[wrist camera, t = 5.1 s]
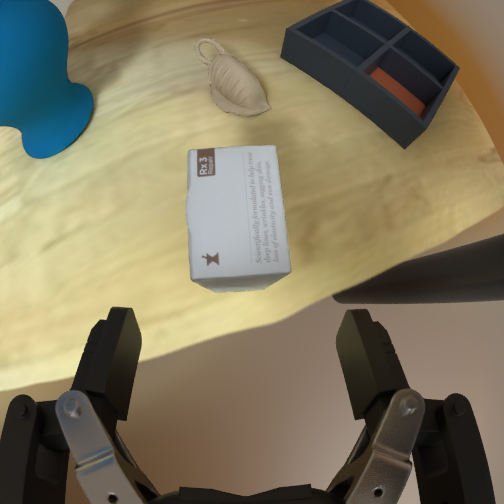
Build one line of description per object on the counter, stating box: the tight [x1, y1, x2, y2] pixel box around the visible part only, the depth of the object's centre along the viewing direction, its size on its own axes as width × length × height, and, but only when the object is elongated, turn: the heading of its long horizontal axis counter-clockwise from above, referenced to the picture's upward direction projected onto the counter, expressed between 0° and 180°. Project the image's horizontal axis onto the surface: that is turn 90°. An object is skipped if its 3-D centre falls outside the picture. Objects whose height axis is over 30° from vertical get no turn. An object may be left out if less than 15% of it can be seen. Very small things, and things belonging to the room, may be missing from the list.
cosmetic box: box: [186, 145, 291, 293], centre depth 18 cm, size 6×4×12 cm
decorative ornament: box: [194, 38, 271, 116], centre depth 24 cm, size 4×8×5 cm, turn 36°
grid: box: [280, 0, 460, 149], centre depth 26 cm, size 17×17×5 cm
